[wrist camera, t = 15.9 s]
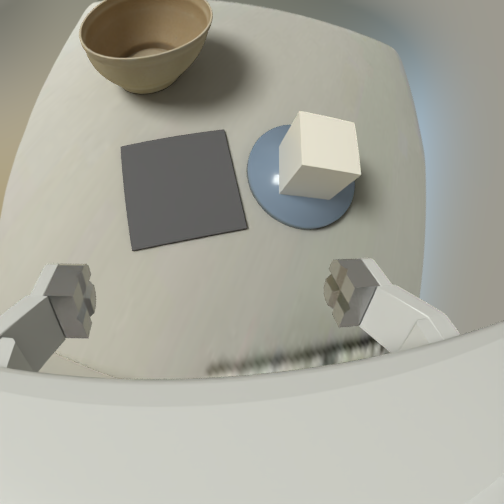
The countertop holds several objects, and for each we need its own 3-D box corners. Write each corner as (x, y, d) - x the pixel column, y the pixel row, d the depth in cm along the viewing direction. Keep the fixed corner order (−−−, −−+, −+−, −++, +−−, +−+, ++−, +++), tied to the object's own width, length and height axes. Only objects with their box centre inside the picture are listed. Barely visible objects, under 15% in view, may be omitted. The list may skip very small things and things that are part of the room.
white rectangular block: (329, 200, 37) (361, 174, 29) (279, 193, 36) (302, 164, 28) (326, 154, 38) (354, 122, 31) (278, 146, 37) (299, 110, 29)
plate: (363, 219, 39) (367, 217, 38) (261, 239, 36) (263, 237, 35) (332, 126, 41) (335, 123, 40) (236, 133, 38) (237, 128, 37)
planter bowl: (105, 131, 34) (84, 78, 24) (90, 56, 36) (76, 6, 25) (221, 95, 38) (232, 38, 28) (187, 28, 40) (191, -23, 29)
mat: (246, 228, 36) (246, 227, 35) (132, 250, 33) (132, 250, 32) (223, 131, 37) (223, 129, 37) (121, 148, 34) (120, 146, 34)
